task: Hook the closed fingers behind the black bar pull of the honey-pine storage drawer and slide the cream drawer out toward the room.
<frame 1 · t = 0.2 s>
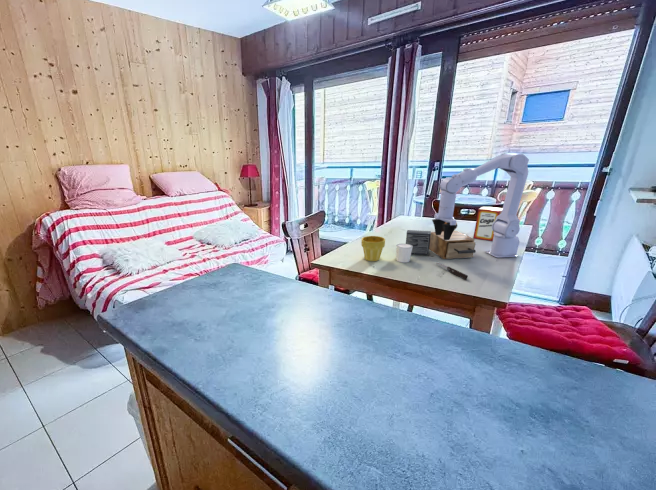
hand: (442, 237, 145), 10 cm above the table, tool pointing down, fingers open, 7 cm apart
cabinet: (448, 253, 154), on the table
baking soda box: (485, 238, 171), on the table
drawer: (455, 247, 148), point 4 cm above the table, slide at 1.0 cm
flower pot: (372, 259, 153), on the table
white tapered cylinder: (403, 260, 149), on the table
kitchen knife: (449, 272, 134), on the table
small box: (416, 253, 157), on the table
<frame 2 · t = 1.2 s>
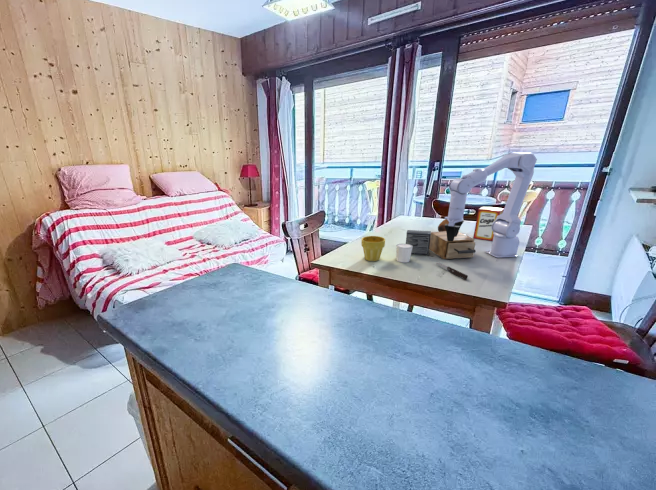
hand: (451, 238, 143), 10 cm above the table, tool pointing down, fingers open, 7 cm apart
nothing on the table moved.
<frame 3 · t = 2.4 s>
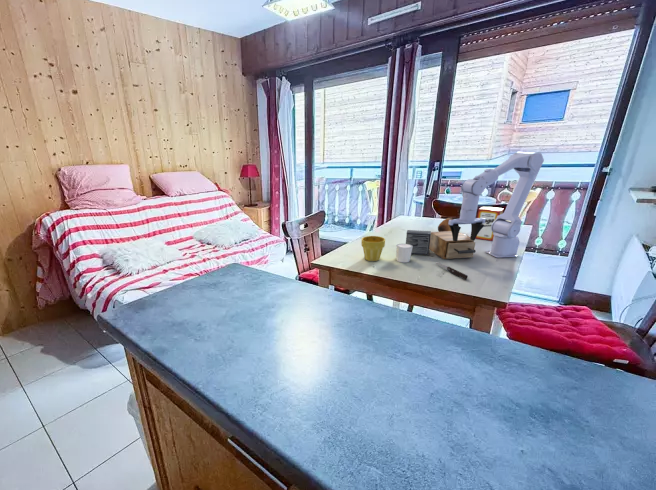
hand: (463, 240, 141), 9 cm above the table, tool pointing down, fingers open, 7 cm apart
nothing on the table moved.
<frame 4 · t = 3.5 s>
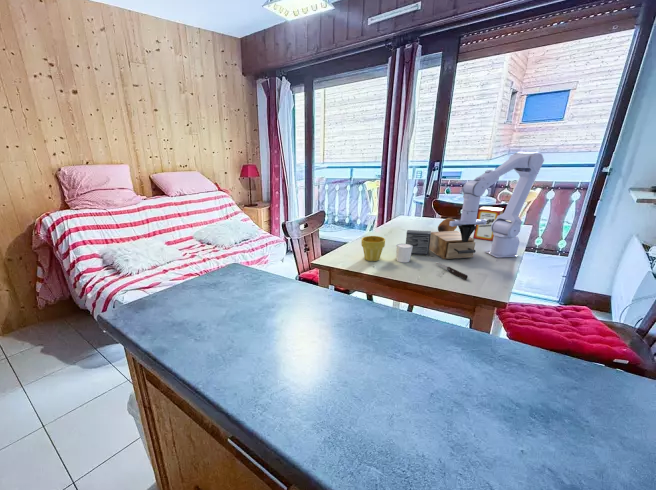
hand: (464, 241, 141), 9 cm above the table, tool pointing down, fingers closed
nothing on the table moved.
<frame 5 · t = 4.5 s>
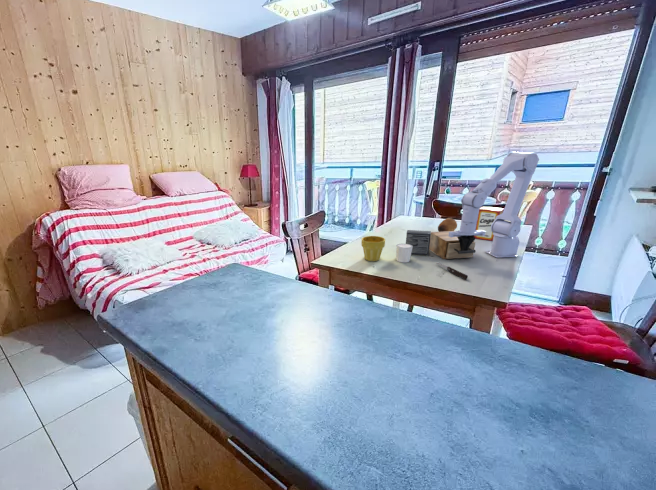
hand: (463, 252, 142), 4 cm above the table, tool pointing down, fingers closed, pressing on drawer
drawer: (455, 247, 148), point 4 cm above the table, slide at 1.0 cm, touching gripper
everything else where it was.
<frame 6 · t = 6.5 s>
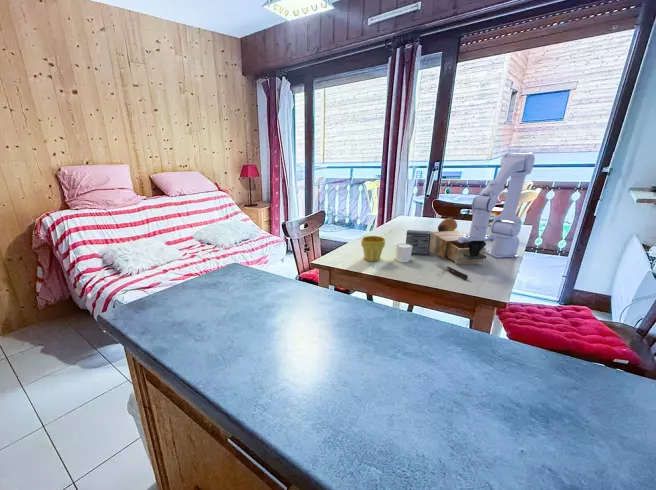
hand: (473, 258, 135), 4 cm above the table, tool pointing down, fingers closed, pressing on drawer
drawer: (464, 252, 141), point 4 cm above the table, slide at 8.3 cm, touching gripper
everything else where it was.
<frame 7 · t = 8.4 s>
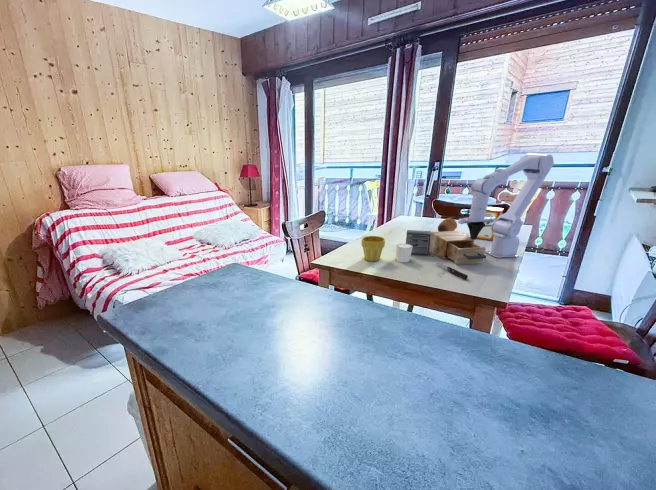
hand: (473, 238, 142), 9 cm above the table, tool pointing down, fingers closed
drawer: (464, 252, 141), point 4 cm above the table, slide at 8.1 cm
everything else where it was.
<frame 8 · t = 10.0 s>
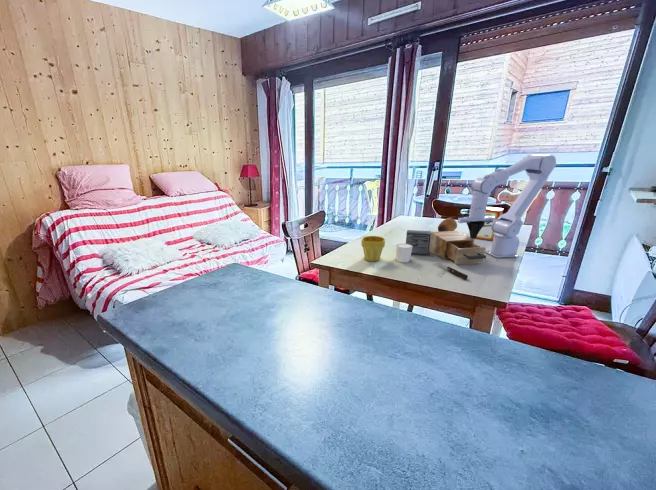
hand: (472, 238, 143), 9 cm above the table, tool pointing down, fingers closed
nothing on the table moved.
at the end: drawer slide at 8.1 cm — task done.
